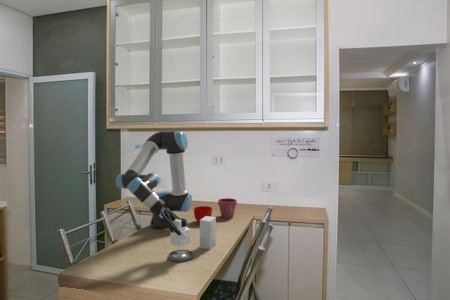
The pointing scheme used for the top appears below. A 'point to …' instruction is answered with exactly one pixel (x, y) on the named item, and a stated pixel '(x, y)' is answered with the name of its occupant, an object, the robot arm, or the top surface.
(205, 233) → the skincare box
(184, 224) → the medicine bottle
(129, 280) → the top surface
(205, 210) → the ceramic cup
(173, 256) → the pad
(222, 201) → the plant pot
